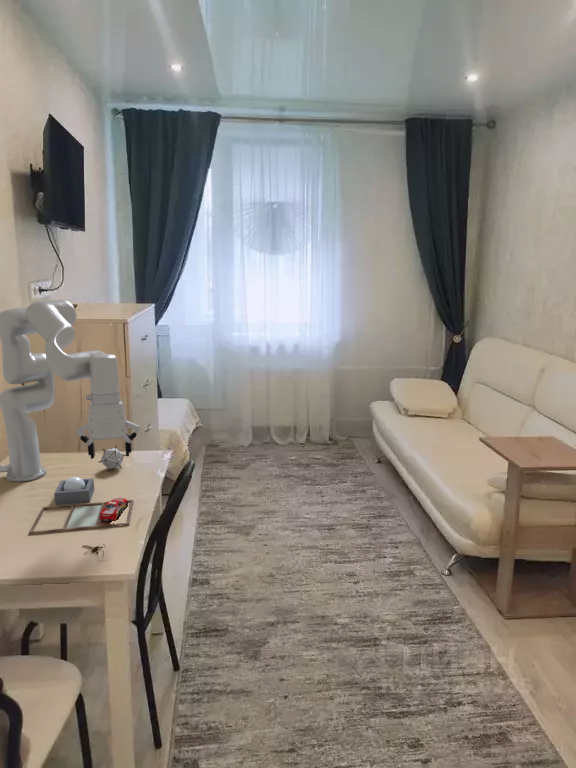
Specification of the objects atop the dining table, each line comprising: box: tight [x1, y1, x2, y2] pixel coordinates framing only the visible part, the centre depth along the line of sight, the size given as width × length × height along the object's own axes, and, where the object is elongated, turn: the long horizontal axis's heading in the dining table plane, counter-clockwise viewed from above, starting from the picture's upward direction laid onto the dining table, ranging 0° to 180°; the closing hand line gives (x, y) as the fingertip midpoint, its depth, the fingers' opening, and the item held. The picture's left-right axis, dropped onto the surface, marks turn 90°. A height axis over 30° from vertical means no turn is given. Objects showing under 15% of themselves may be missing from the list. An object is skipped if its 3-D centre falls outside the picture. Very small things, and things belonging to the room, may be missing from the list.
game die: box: [98, 445, 127, 473], centre depth 195 cm, size 9×8×10 cm
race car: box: [99, 497, 128, 522], centre depth 160 cm, size 13×5×4 cm, turn 177°
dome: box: [64, 476, 85, 491], centre depth 172 cm, size 6×6×6 cm
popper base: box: [53, 477, 95, 506], centre depth 172 cm, size 10×10×4 cm
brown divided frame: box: [28, 499, 134, 535], centre depth 159 cm, size 26×16×1 cm, turn 101°
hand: (110, 456), depth 157 cm, fingers open, 9 cm apart
